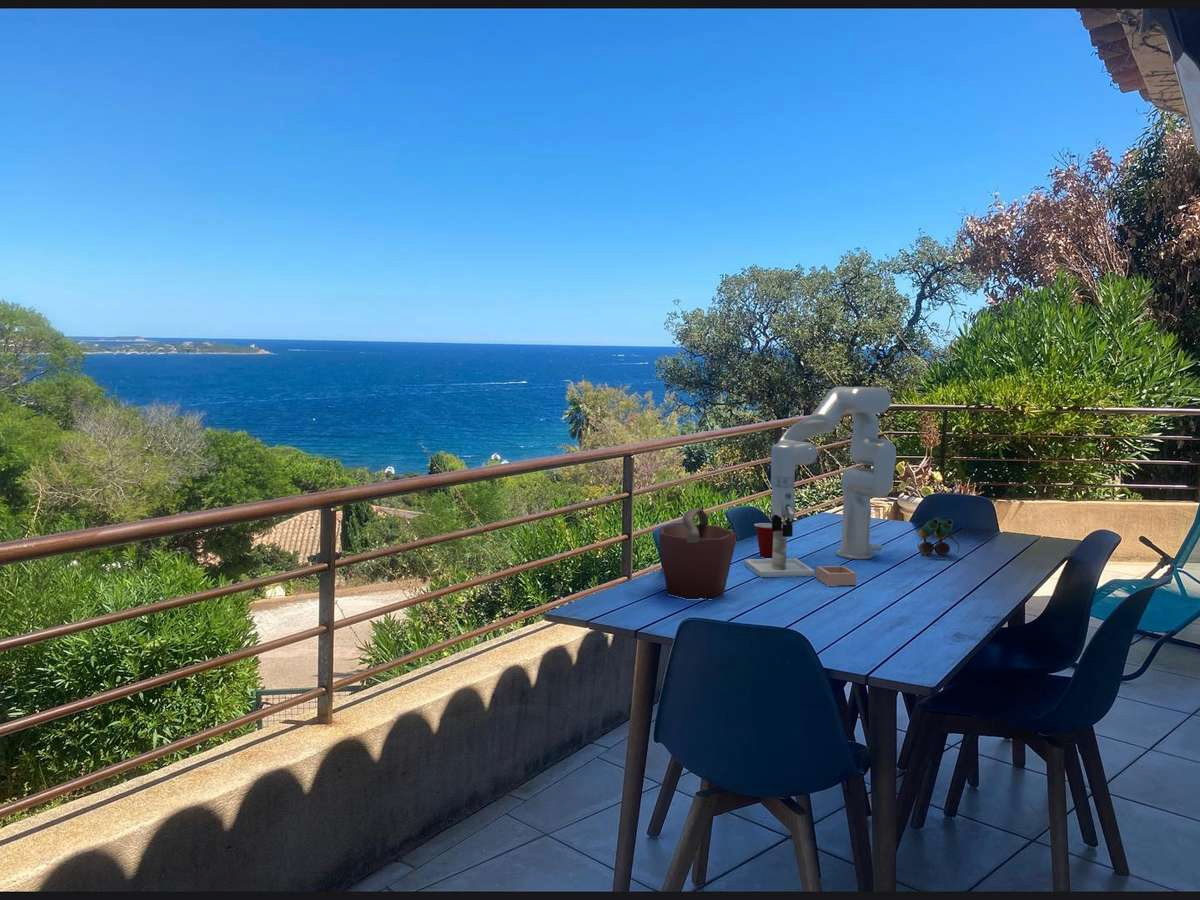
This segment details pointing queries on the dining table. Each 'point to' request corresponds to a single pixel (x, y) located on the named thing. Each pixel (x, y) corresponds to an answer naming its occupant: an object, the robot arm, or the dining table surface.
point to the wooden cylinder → (779, 551)
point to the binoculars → (940, 532)
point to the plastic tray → (792, 569)
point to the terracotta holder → (836, 575)
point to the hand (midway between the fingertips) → (781, 533)
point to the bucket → (696, 557)
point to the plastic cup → (765, 539)
